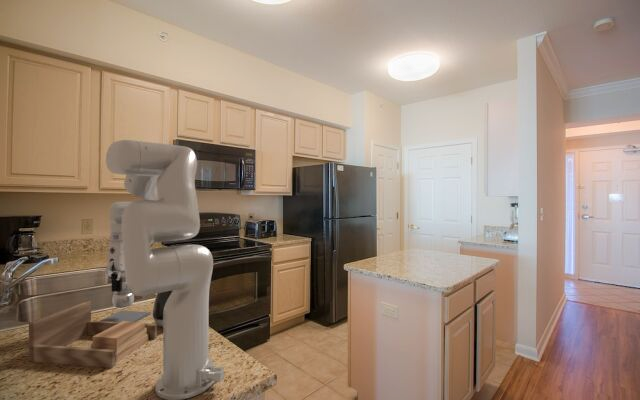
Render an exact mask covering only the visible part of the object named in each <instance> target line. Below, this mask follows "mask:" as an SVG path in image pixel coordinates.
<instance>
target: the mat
mask: <svg viewBox="0 0 640 400" xmlns="http://www.w3.org/2000/svg"><path fill="white" fill-rule="evenodd" d="M151 314H152V312H150V311H139V310H138V311H135V310H119V311H117V312H115V313H112V314H110V315H108V316H107V317H105V318H102V319H100V320H99V321H108V322H122V321H131V322H139V321H140V320H142V319H144V318H146V317H147V316H149V315H151Z"/></svg>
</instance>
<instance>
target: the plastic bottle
mask: <svg viewBox="0 0 640 400" xmlns="http://www.w3.org/2000/svg"><path fill="white" fill-rule="evenodd" d="M114 270H115V271H118V270H116V269H115V268H114ZM115 275H116V276H117V272H115ZM120 280H121V291H120V292H113V294H112V298H111V299H112V300H111V302H112V306H113V307H114V308H118V309H119V308H127V307H129V306H132V305H133V303H134V300H135V295H133V294H132V293H131V292H130V291H129V289H128V286H127V282H126V275H125V271H122V272H121V276H120Z"/></svg>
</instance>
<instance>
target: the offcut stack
mask: <svg viewBox="0 0 640 400" xmlns="http://www.w3.org/2000/svg"><path fill="white" fill-rule="evenodd" d="M145 324H146V323H145V322H144V321H137V322H131V321H122V322H120V323H118V324H116V325H115V326H113V327H111V328H109V329H107V330H105V331H103V332H101V333H99V334H97V335H92V343H90V348H95V349H109V350H115V363H118V362H119V361H121V360H122V359H124V358H125V357H127V356H128V355H130V354H131V353H133V352H134V351H135V350H137V349H139V348H140V347H142V346H143V345H145V344H146V343H147V342H149V339H148V334H147V328H145Z"/></svg>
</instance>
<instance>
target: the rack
mask: <svg viewBox="0 0 640 400" xmlns="http://www.w3.org/2000/svg"><path fill="white" fill-rule="evenodd" d="M118 323H120V322H108V321H100V320H92V301H91V300H87V301H84V302H80V303H78V304H75V305H73V306H70V307H68V308H65V309H62V310H60V311H57V312H54V313H52V314H48V315H46V316H43V317H41V318H38V319H36V320H33V321H32V320H31V322H28V362H34V363H48V364H60V365H71V366H72V365H73V366H82V367H85V366H86V367H98V368H109V369H113V368H114V367H116V362H115V350H109V349H95V348H91V347H80V346H79V347H78V346H68V345H70V344H72V343H74V342H76V341H78V340H80V339H83V338H84V337H86V336H88V335H89V336H95V335H97V334H99V333H101V332H103V331H105V330H107V329H109V328H111V327H113V326H115V325H116V324H118ZM145 328H147V334H148V340H149V339H150V340H151V339H152V340H156V339H157V338H158V325H157V324H156V323H154V324H153V323H145Z"/></svg>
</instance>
